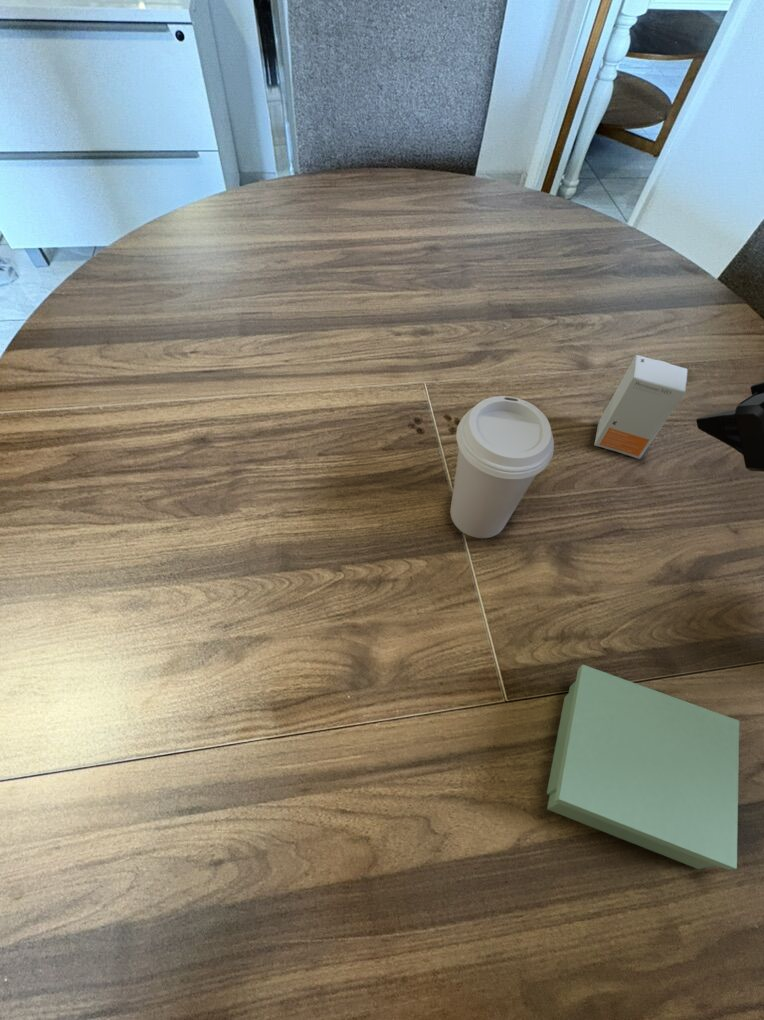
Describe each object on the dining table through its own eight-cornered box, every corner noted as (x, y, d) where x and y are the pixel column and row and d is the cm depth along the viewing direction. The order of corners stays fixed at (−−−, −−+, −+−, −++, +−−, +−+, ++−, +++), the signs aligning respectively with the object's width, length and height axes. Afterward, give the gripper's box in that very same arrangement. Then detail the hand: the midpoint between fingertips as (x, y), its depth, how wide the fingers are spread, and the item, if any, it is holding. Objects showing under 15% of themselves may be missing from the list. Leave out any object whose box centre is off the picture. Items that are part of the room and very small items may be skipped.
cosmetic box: (593, 447, 78) (631, 376, 68) (597, 423, 80) (635, 352, 70) (640, 461, 77) (687, 391, 67) (643, 437, 79) (688, 367, 69)
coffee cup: (532, 504, 72) (574, 416, 59) (498, 564, 67) (537, 481, 54) (459, 469, 74) (485, 376, 62) (422, 524, 69) (442, 435, 57)
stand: (710, 735, 58) (739, 720, 54) (704, 874, 51) (737, 869, 47) (564, 682, 60) (582, 664, 56) (540, 809, 53) (558, 799, 49)
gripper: (952, 264, 51) (764, 302, 65) (830, 337, 44) (648, 363, 58) (964, 390, 54) (782, 401, 68) (851, 478, 47) (674, 470, 61)
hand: (725, 406), depth 64 cm, fingers open, 9 cm apart
